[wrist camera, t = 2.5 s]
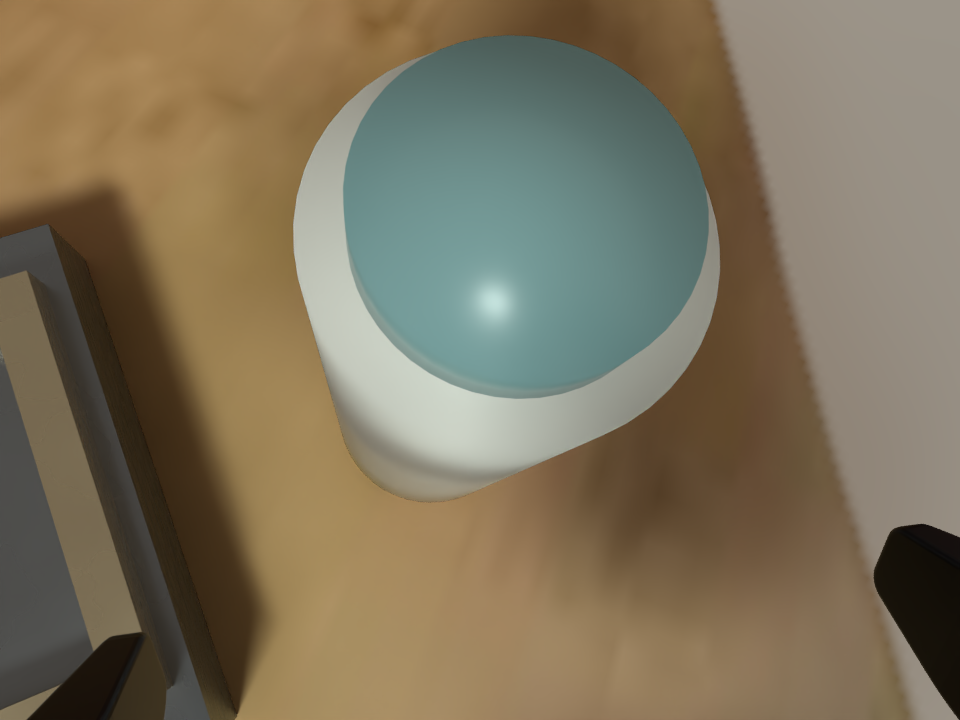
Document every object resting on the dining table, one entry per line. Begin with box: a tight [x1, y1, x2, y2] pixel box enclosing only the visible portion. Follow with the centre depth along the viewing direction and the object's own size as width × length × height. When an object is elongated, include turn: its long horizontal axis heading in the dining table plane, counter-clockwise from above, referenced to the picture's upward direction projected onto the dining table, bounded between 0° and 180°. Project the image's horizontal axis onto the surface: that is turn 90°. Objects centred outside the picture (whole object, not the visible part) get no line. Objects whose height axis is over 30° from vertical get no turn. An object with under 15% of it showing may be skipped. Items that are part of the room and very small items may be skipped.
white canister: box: [293, 35, 720, 503], centre depth 15 cm, size 5×5×14 cm
